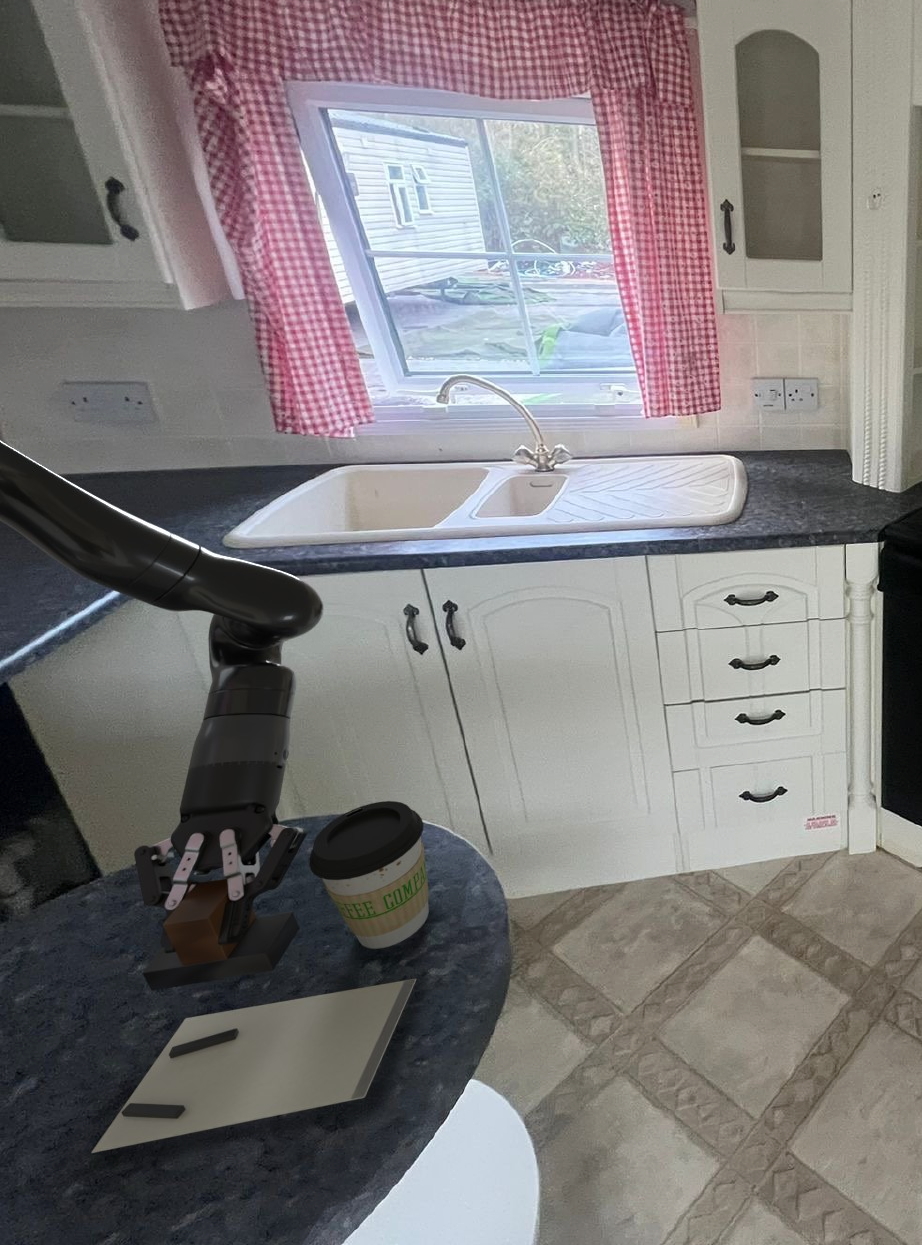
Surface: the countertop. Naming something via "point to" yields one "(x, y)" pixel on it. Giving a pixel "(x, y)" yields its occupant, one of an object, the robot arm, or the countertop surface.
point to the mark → (203, 1043)
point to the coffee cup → (375, 871)
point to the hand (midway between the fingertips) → (203, 946)
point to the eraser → (216, 941)
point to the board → (266, 1062)
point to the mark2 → (153, 1110)
